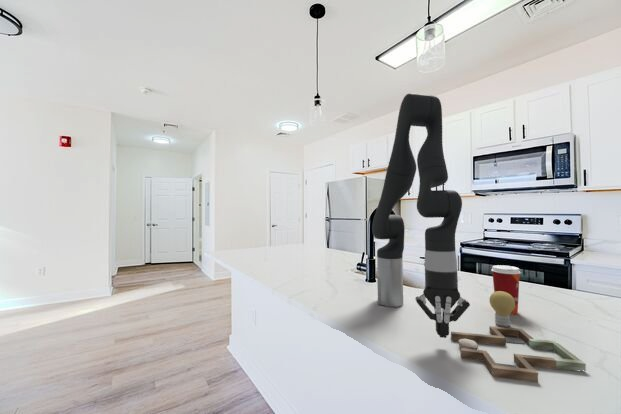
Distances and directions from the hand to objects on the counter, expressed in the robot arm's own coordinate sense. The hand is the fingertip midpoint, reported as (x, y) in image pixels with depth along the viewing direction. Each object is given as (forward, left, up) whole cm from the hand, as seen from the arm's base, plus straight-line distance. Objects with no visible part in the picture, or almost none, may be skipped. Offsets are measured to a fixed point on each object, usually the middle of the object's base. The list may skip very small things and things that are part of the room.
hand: (442, 336), depth 69 cm
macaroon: (+6, 0, -3) cm, 7 cm away
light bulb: (+20, +18, -3) cm, 27 cm away
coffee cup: (+26, +31, -3) cm, 41 cm away
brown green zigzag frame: (+14, 0, -3) cm, 14 cm away
